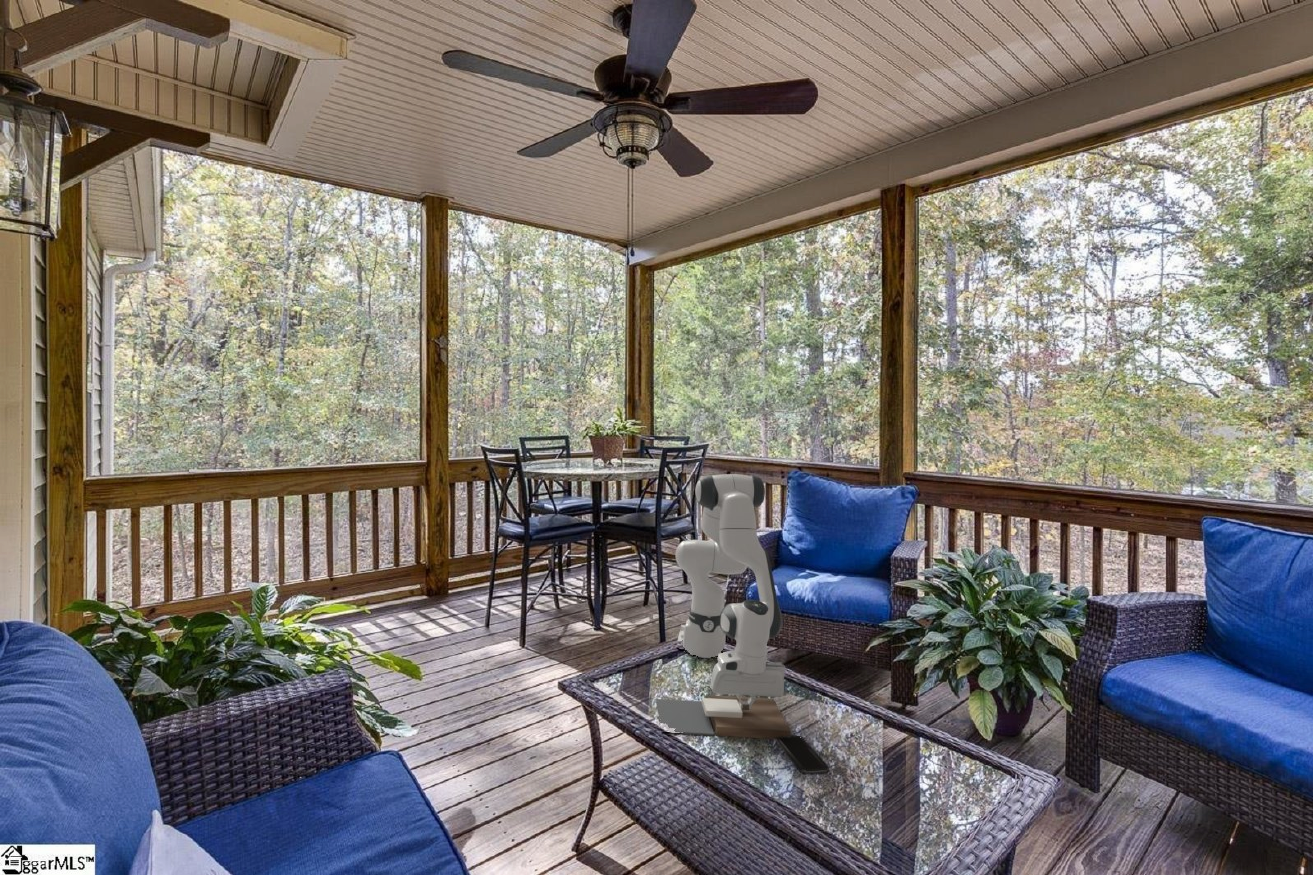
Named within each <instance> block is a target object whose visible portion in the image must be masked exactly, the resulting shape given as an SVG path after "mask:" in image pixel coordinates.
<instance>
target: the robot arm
mask: <svg viewBox="0 0 1313 875" xmlns="http://www.w3.org/2000/svg"><path fill="white" fill-rule="evenodd" d="M694 490H695V497H696V500H697V503H698V504H699V505H700V506H701V507H703V509H702V515H701V523H700V525H701V526H700V527H701V529H702V530H701V531H702V532H703V534H705V536H706V537H707V538H709V539H710V540H701V539H687V540H682V541H681V542H680V543H679V544H678V546H677V547H676V549H675V562H676V563H677V565H678V566H679V568H680V569H682V571H684V572H685V575H686V576H687V577H688V579H689V581H690V585H691V606H690V609H689V611H688V618H687V620H686V621H685V624H681V625H680V631H679V632H678V637H677V641H682V640H683V647H684V648H685V650H687V651H688V652H689V653H690V654H689V655H691V656H693V655H696V656H695V657H697V656H698V657H697V658H704V659H712V658H711V657H715V656H717V655H718V657H715V658H717V663H715V665H714V667H713V668H712V672H711V678H710V689H711V691H712V692H713V693H714V695H717V694H718V695H719V694H720V695H732V696H733V695H734V696H735V695H736V697H738V699H739V701H740V703H739V706H740V708H741V710H751V705H752V704H753V702H754V701H755V700H756V698H757V697H768V698H769V697H770V698H771V697H772V698H780V697H782V696H783V695H784V693H785V676H786V671H787V669H786V666H785V665H784V664H783V663H782V662H779V661H776V662H773V661H767V658H768V646H767V644H768V641H769V640H770V639H771V640H773V639H774V638H776V636H778V635H779V633H780V632H781V631H782V629H783V626H784V625H783V624H784V621H783V620H784V618H783V615H782V611H781V607H780V606H779V605H780V604H779V601H778V597H777V591H776V586H775V580H774V575H773V571H772V570H773V569H772V564H771V560H770V557H769V553H768V551H767V550H766V549H765V548H764V547H762V545H761V544H760V540H759V538H758V533H757V530H758V529H757V517H756V512H755V508H759V507H761V505H762V504H763V502H764V500H765V496H766V487H765V483H764V481H763V480H762V478H761V477H759V476H755V475H751V474H750V475H747V474H746V475H745V474H740V473H739V474H738V473H737V474H736V473H730V474H729V473H728V474H726V473H725V474H713V475H712V474H704V475H701V476H700V477H699V478H698V479H697V483H696V484H695V489H694ZM711 540H712V541H711ZM748 568H749V569H750V570H751V571H752V572H753V573H754V576H755V580H756V585H757V586H756V587H757V592H758V597H759V600H758V599H757V600H755V599H745V600H743V602H736V603H735V602H734V603H728V604H726V605H725V606H724V601H725V600H724V599H725V593H724V592H725V591H724V589H723V588H722V586H721V585H720V584H718V583H716V581H713V580H712V579H710V577H709V574H720V575H729V576H730V575H741V574H743V573H744V572H745V571H746V570H747V569H748ZM726 636H727V637H728V638H730V639H731V640H735V641H736V644H735V646H734V647H735V648H733V649H731V650H730V649H729V651H727V652H723V653H721V651H722V650H723V648H724V647H725V645H726ZM685 639H686V640H685ZM744 696H749V697H750V698H749V700H748V701H742V700H741V698H743V697H744Z"/></svg>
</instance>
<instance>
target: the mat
mask: <svg viewBox="0 0 1313 875" xmlns="http://www.w3.org/2000/svg"><path fill="white" fill-rule="evenodd" d="M655 701H656V707H657V708H658V709H657V715H658V714H659V715H658V719H661V720H660V721H661V722H659V724H660V723H666V724H668V727H669V728H676V729H675V730H674V731H675V732H683V733H687V734H686V735H693V736H694V735H695V736H696V735H697V736H713V737H714V736H715V731H714V728H713V725H712V722H711V719H710V716H706V715H705V712H704V709H703V706H702V700H683V699H668V698H667V699H665V698H656V700H655Z"/></svg>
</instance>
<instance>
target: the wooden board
mask: <svg viewBox="0 0 1313 875" xmlns="http://www.w3.org/2000/svg"><path fill="white" fill-rule="evenodd" d="M705 696H706V697H705V698H712V699H731V700H737V701H738V703H740V701H739V699H738V697H737V696H735V695H734V696H733V695H732V696H731V695H717V694H712V695H710V694H706V695H705ZM749 698H750V696H748V697H747V696H743V698H741V700H742V701H748V700H749ZM742 712H743V713H742V718H733V717H713V716H709V719H710V722H711V725H712V728H713V732H714V736H717V737H732V738H733V737H735V738H751V739H753V738H754V739H769V740H770V739H772V740H776V739H777V737H789V738H790V736H791V734H792V733H791V732H792V730H791V728H790V726H789V724H788V723H787V721H786V719H785V717H784V714H783V713H782V712H781V710H780V708H779V706H778V704H777V702H776V700H775V699H774V698H769V697H766V698H764V697H756V700H755V701H754V702H753V704H752V705H751V710H742Z"/></svg>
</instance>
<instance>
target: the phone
mask: <svg viewBox="0 0 1313 875" xmlns="http://www.w3.org/2000/svg"><path fill="white" fill-rule="evenodd" d="M800 737H801V738H800ZM775 740H776V743H777V745H778V746H779V747H780V748H781V750H782V751H783V752H784V754H785V755H786V756H787V757H788V759H790V761H791V762H792V764H793V765H794V766H795V767H796V768H797V770H798V771H799V772H800V773H801V774H803V775H814V774H815V775H817V774H828V773H829V772H830V767H829V765H828V764H827V763H826V761H824V760H823V759H822V757H821V756H820V755H819V754H818V753H817V752H816V750H815V749H814V748H813V747H812V746H811V745H810V744H809V742H807V740H806V739H805V738H804V737H803V736H801V735H790V738H789V737H777V739H775Z"/></svg>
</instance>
